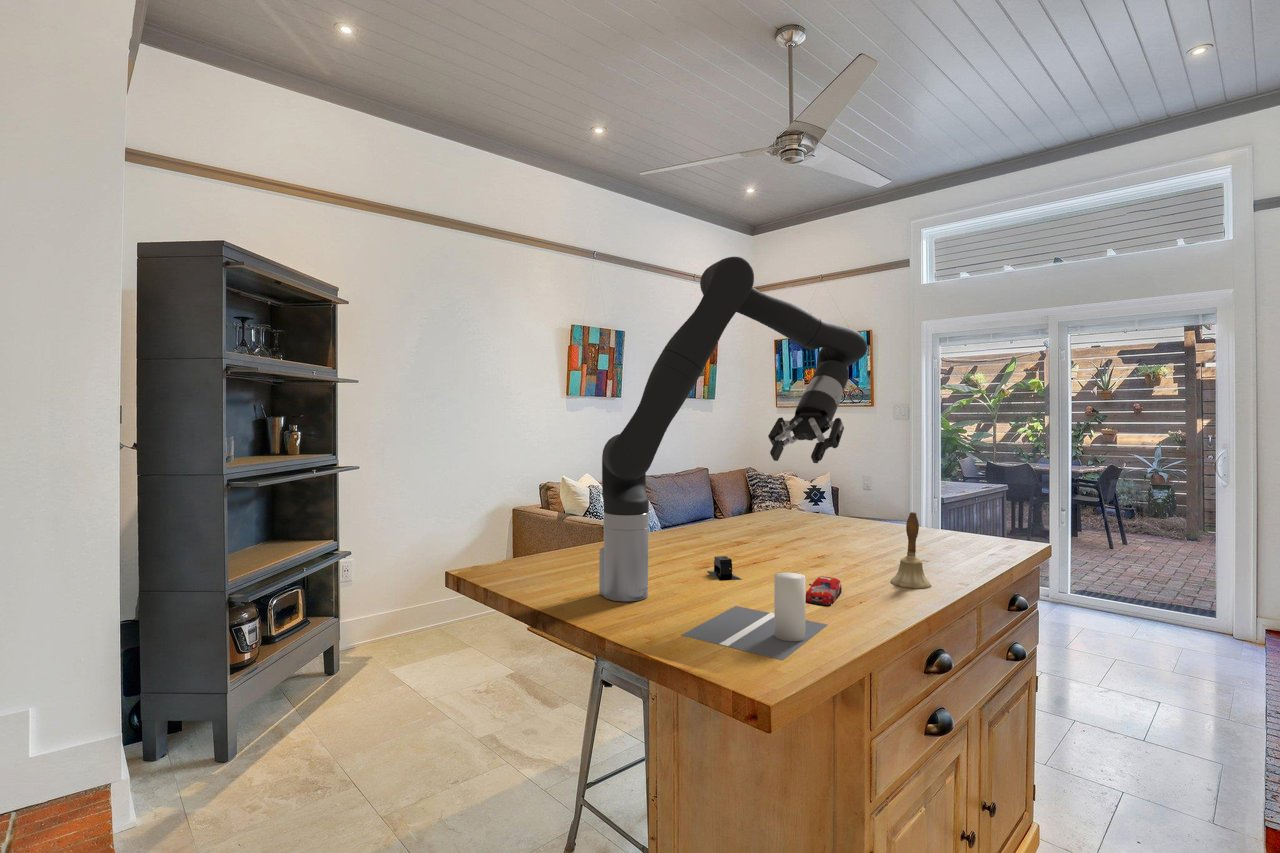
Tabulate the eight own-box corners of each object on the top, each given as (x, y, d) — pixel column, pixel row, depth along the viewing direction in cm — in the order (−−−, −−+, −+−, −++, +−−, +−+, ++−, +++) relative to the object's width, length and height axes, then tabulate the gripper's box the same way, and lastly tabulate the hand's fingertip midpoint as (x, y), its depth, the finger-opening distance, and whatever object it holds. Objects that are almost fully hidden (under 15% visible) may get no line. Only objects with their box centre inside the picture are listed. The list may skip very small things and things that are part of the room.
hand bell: (917, 578, 144) (918, 509, 144) (939, 588, 136) (940, 515, 135) (883, 579, 143) (884, 510, 142) (903, 589, 134) (904, 515, 134)
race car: (829, 609, 121) (829, 589, 121) (802, 605, 124) (802, 585, 124) (845, 593, 132) (845, 574, 132) (819, 589, 135) (819, 570, 135)
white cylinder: (769, 637, 103) (769, 577, 103) (780, 629, 107) (780, 571, 107) (799, 643, 100) (799, 581, 100) (809, 634, 104) (809, 574, 104)
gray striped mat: (680, 637, 104) (680, 634, 104) (735, 608, 120) (735, 605, 120) (783, 663, 93) (783, 659, 93) (828, 627, 110) (828, 624, 110)
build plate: (748, 583, 141) (748, 562, 141) (717, 585, 139) (717, 564, 139) (726, 570, 153) (726, 551, 153) (698, 572, 151) (698, 553, 151)
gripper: (782, 389, 133) (754, 445, 125) (847, 388, 124) (822, 447, 115) (794, 414, 137) (767, 469, 129) (857, 415, 128) (834, 474, 119)
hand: (793, 459), depth 122 cm, fingers open, 8 cm apart
